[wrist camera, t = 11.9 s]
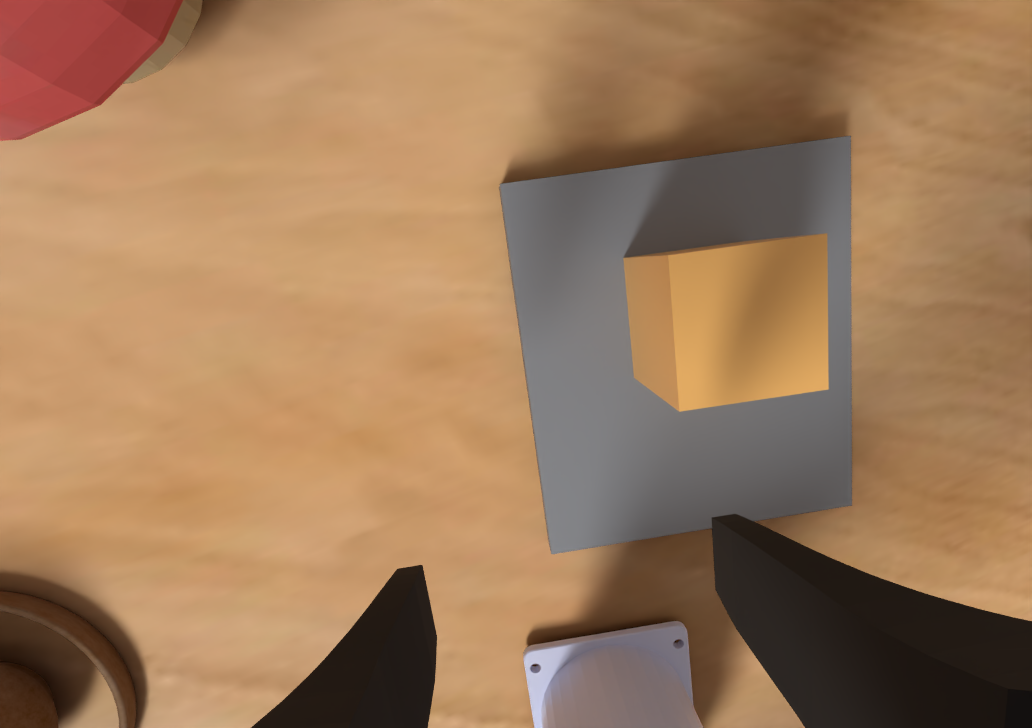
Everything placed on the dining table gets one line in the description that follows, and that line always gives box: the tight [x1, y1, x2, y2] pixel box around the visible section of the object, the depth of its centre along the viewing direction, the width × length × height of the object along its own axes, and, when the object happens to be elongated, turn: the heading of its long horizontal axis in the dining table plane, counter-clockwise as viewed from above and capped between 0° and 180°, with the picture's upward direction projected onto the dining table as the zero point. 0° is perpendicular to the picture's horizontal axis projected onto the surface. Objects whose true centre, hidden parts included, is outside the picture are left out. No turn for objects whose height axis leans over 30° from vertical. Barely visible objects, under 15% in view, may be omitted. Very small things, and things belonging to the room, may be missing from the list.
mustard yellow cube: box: [623, 233, 829, 412], centre depth 18 cm, size 5×5×5 cm
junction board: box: [499, 136, 852, 554], centre depth 20 cm, size 16×14×4 cm
